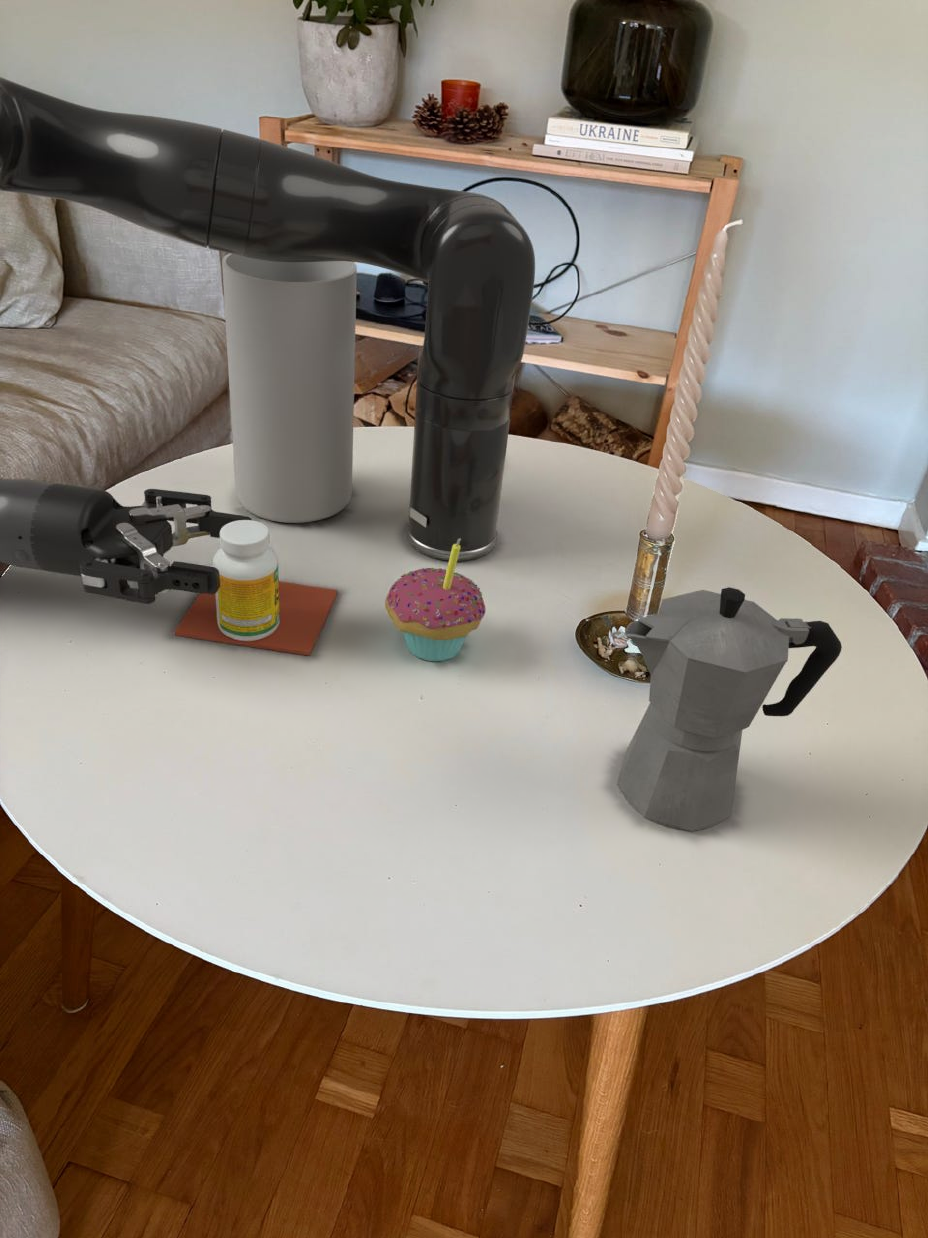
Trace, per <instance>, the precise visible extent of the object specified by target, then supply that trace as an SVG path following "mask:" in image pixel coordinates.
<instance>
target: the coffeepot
mask: <svg viewBox="0 0 928 1238" xmlns="http://www.w3.org/2000/svg"><path fill="white" fill-rule="evenodd" d="M745 598H746V593H744V592H743V591H742V590H741V589H739V588H734V587H730V586H727V587H724V588H721V592H720V593H719V592H714V591H709V590H706V589H700V590H696V591H692V592H687V593H683V594H679V595H674V596H671V597H667V598H663V599H661V603H660V606H659V608H658V613H656V614H653V615H649V616H645V617H639V618H638V619H637V620H635V621H631V622H630V623H628V625H627V626H626V628H625V630H624V636H625V638H627V639H629V640H631V641H633V643H634V644H635V646H636V647H637V649H638V651H639V653H640V655H641V657H642V659H643V661H644V663H645V666H646V668H647V670H648V673H649V675H650V681H649V683H650V684H649V694H648V696H649V697H648V701H649V704H648V706H647V709H646V710H645V712H644V714H643V716H642V718H641V720H640V722H639V724H638V726H637V729H636V730H635V732H634V734H633V736H632V739H631V740H630V742H629V744H628V747H627V749H626V751H625V752H624V755H623V759H622V762H621V766H620V769H619V770H620V771H619V774H618V777H617V782H616V787H617V788H618V789H619V791H620V793H621V794H622V795H623V797H624V798H625V800H626V801H627V802H628V804H629V805H630V806H631V807H632V808H633V809H634V810H635V811H636V812H637V813H639V814H640V815H642V816H643V818H644V819H647V820H649V821H652V822H653V823H656V824H658V825H661V826H664V827H667V828H670V829H675V830H681V831H691V832H696V831H702V830H705V829H708V828H712V827H714V826H716V825H718V824H720V823H721V822H722V821H724V820H726V819H730V818H732V812H733V805H734V803H733V802H734V797H735V789H736V781H737V774H738V766H739V758H740V753H741V751H740V750H741V744H742V736H743V730H745V729H748V728H750V726H751V725H752V723H753V722H754V719H755V717H756V716H757V713H758V712H759V710H760V709H761V708H762V713H763V715H764V716H767V717H788V716H790V715H792V713H793V712H794V711H795V710H796V708H797V707H798V706H799V705H800V704H801V702H803V700H804V699H805V698H806V697H807V695H808V694H809V693H810V692H811V691H812V689H813V688H814V687H815V686H816V684H817V683H818V682H819V681H820V680H821V678H822V677H823V676H824V674H825V673H826V672H827V671H828V670H829V669H830V668H831V667H832V665H834V663H835V662H836V661H837V660H838V658H839V656H840V655H841V653H842V648H843V645H842V642H841V640H840V639H839V638H838V636H837V635H836V633H835V631H834V630H833V628H832V627H831V625H830V624H829V622H825V621H822V620H813V621H803V619H802V618H783V617H782V618H779V619H776V618H775V617H774V616H772V615H771V614H770V613H769V612H768V611H766V610H765V609H763V607H761V606H760V605H759V604H758V603H756V602H755V601H752V600H749V599H745ZM809 647H815V648H814V649H813V651H812V652H811V653H810V655H808V657H807V659H806V660H805V662H804V664H803V666H802V668H801V670H800V672H799V673H798V674H797V675H795V677H794V678H792V679H791V681H790V682H789V684H788V685H787V688H786V689H785V690H786V691H785V693H784V696H783V698H782V699H781V700H780V701H778V702H774V703H771V704H766V703H765V704H763V703H764V701H765V700H766V699H767V696H768V695H769V693H770V691H771V689H772V688H773V685H774V684H775V682H776V681H777V679H778V677H779V675H780V673H781V672H782V670H783V668H784V667H785V665H786V663H787V662H788V661H789V649H800V648H809Z"/></svg>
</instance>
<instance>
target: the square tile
mask: <svg viewBox="0 0 928 1238" xmlns="http://www.w3.org/2000/svg"><path fill="white" fill-rule="evenodd" d="M337 596H338V589H334V588H327V587H321V586H320V587H319V586H312V585H307V584H299V583H293V582H286V581H279V625H278V627H277V629H276V630H275V631H274V632H273V633H272V634H271V635H269V636H267V637H265V638H263V639H260V640H255V641H240V640H235V639H233V638H230V637H228V636H226V635H225V634H223V633H222V632H221V630H220V629H219V627H218V623H217V611H216V594H207V593H204V594H200V593H198V595H197V597H196V598H195V600H194V601H193V602H192V604H191V606H190V608H189V609H188V610H187V612H186V614H185V615H184V617H183V618H182V620H181V621H180V622H179V624H178V626H177V627H176V629H175V630H174V636H177V637H184V638H189V639H195V640H203V641H209V642H217V643H223V644H230V645H236V646H243V647H249V648H256V649H264V650H269V651H277V652H283V653H289V654H296V655H302V656H309V657H311V654H312V652H313V649H314V647H315V645H316V643H317V641H318V638H319V636H320V634H321V632H322V629H323V627H324V625H325V622H326V620H327V618H328V616H329V614H330V612H331V609H332V607H333V605H334V602H335V600H336V598H337Z"/></svg>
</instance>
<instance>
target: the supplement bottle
mask: <svg viewBox="0 0 928 1238" xmlns="http://www.w3.org/2000/svg"><path fill="white" fill-rule="evenodd" d="M270 538H271V537H270V530H269V528H268V527H267V526H266V525H265V524H264V523H262V522H259V521H257V520H253V519H252V520H238V521H233V522H230V523H228V524H226V525H225V526H223V527H222V528H221V530H220V538H219V546H220V547H219V548H218V549H217V551H216V552H215V554H214V556H213V559H212V567H215V568H217V569H218V571H219V576H220V588H219V589H218V591H217V593H215V594H216V611H217V623H218V627H219V629H220V630H221V632H222V633H223V634H225V635H226V636H228V637H230V638H233V639H235V640H240V641H255V640H260V639H263V638H265V637H267V636H269V635H271V634H272V633H273V632H274V631H275V630H276V629H277V627H278V625H279V559H278V555H277V553H276V551H275V550H274V549H273V548H272V547H271V546H270V544H271V539H270Z"/></svg>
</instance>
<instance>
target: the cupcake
mask: <svg viewBox="0 0 928 1238" xmlns="http://www.w3.org/2000/svg"><path fill="white" fill-rule="evenodd" d="M460 540H461V539H460V538H459V539H458V541H457V544H453V546H452V550H451V555H450V559H449V560H448V563H447V567H446V568H440V567H439V568H434V567H425V568H418V569H416V570H412V571H409V572H408V573H403V574H402V575H400V578H398V579H397V580H396V581H394V582H393V584H392V585H391V587H390V588H389V591H388V592H387V595H386V597H385V599H384V600H385V602H384V606H385V610H386V613H387V615H388V617H389V618H390V620H391V621H392V623H393V624H394V625H395V626H396V628H397V629H398V630H399V631H400V632H401V633H402V634H403V637H404V640H405V644H406V647H407V649H408V651H409V652H410V653H411V654H412V655H413V656H414V657H416V658H419V659H420V660H425V661H429V662H443V661H446V660H450V659H452V658H454V657H455V656H457V654H458V653H459V652H460V651H461V649H462V646H463V644H464V642H465V640H466V638H467V637H468V635H469V634H470V633H471V632H472V631H475V630H476V629H478V628H479V626H480V624H481V621H482V620H483V618H484V617H485V616H486V611H487V609H486V604H485V602H484V597H483V592H482V591H481V590H480V589H481V588H480V587H478V584H475V582H474V581H473V580H472V579H470V578H469V577H467V576H465V575H463V574H461V573H459V572H455V571H456V567H457V564H458V561H457V559H458V555H459V551H460V545H459V543H460Z"/></svg>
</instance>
